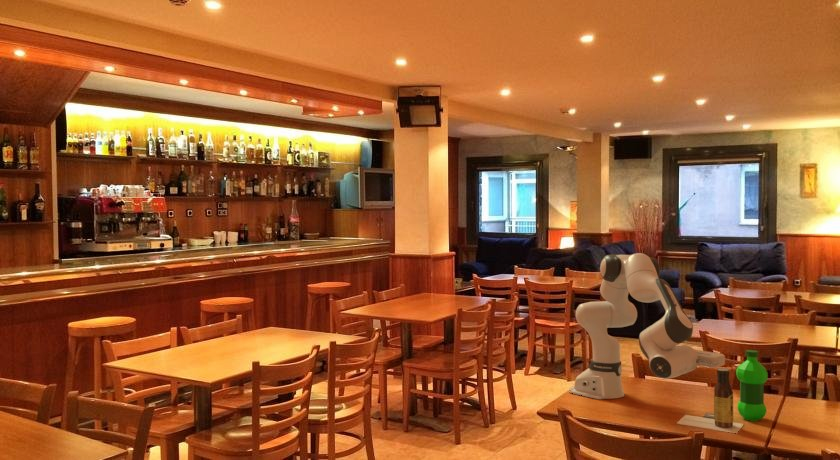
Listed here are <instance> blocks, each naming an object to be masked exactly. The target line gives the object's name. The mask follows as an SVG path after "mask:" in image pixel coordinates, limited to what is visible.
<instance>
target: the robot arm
mask: <svg viewBox="0 0 840 460" xmlns="http://www.w3.org/2000/svg"><path fill="white" fill-rule="evenodd" d="M599 272H600V276H601V277H602V279H601V280H602V281H601V285H600V287H599V291H600V295H601V297H602V298H603V299H604V300H603V301H602V300H601V301H600V300H599V301H589V302H584V303H580V304H578V306H577V307H576V309H575V310H576V311H575V320H576V321H577V323H578V325H579V326H580V327H581V328H583V329H584V330H585V331H586V332H587V334H588V336H589V337H590V340H591V347H592V358H591V359H590V360H588V362H586V365H587V366H588V368H587V369H585V370H584V371H582V372H581V373H580V374H578V375H577V376H576V378H575V380H574V384H573V386H571V387H570V388H569V390H571V391H569V390H568V392H570V393H569V394H572V393H573V395H578V396H581V395H582V396H583V397H587V398H591V399H595V400H605V399H606V400H607V399H619V398H623V397H624V396H625V392H624V388H623V384H622V361H621V343H620V342H619V340H618V339H617V338H616V337H614V336H612V335H610V334H608V328H609V329H610V328H624V327H629V326H633V325H634V324H635V323H636V321H637V320H638V319H637V318H638V310H637V307H636V306H635V304H634V303H632V302H631V301H630V300H629V295H630V296H631V297H632V298H633V299H635V300H636V301H637V302H641V303H648V304H649V303H654V302H657V301H660V302H661V305H662V306H663V308H664V310H665V312H664V315H663V316H662V317H661V318H660V319H659V320H657V321H655V322H654V323H653V324H652V325H649V326H648V327H646V328H645V329H643V330H642V331H641V332H640V333H639V334H638V335H639V336H638V345H639V348H640V350H641V352H642V354H643V355H644V357H645V358H646V359H647V360H648V362H649V364H648V365H649V368H650V371H651V373H652V374H653V375H655V376H656V377H658V378H660V379H673V378H676V377H679V376H681V375H684V374H687V373H690V372H693V371H695V370H696V369H697V368H698V366H700V367H705V368H712V369H713V368H719V367H720V368H721V367H722V366H725V364H726V356H725V354H724V353H719V352H717V351H713V352H712V351H706V350H701V349H694V348H693V347H692V346H690V345H687V344H682V345H680V344H681V343H685V342H686V341H688V340H690V339H691V338H692V335H693V331H694V326H693V323H692V321H691V320H690V318H689V317H688V316H687V314H686V312H685V311H684V309H683V307H682V305H681V303H680V301H679V299H678V298H677V296H676V294H675V292H674V291H673V289H672V287H671V286H670V284H669V283H668V282H667V281H666V280H665V279H662V278H660V274H661V266H660V263H659V261H658V260H657V258H654V257H651V256H648V255H647V254H645V253H642V252H636V253H633V254H614V253H613V254H612V253H611V254H607V255H605V256H604V257H603V258H602V259H601V262H600V267H599Z"/></svg>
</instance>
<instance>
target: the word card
mask: <svg viewBox="0 0 840 460" xmlns="http://www.w3.org/2000/svg"><path fill="white" fill-rule="evenodd" d="M703 418H709V419H714V413H711V412H706V413H705V414H704V415H703Z"/></svg>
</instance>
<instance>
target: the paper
mask: <svg viewBox="0 0 840 460" xmlns="http://www.w3.org/2000/svg"><path fill="white" fill-rule="evenodd" d="M676 425H680V426H687V427H693V428H699V429H703V430H704V429H706V430H710V431H711V430H712V431H717V432H723V433H728V432H729V433H728V434H734V433H736V434H735V435H737V434H738V433H739V432H740V430H742V428H743V427H744V425H745V424H744V423H740V422H734V421H733V426H732V427H728V428H727V427H719V426H716V425H715V420H714V419H712V418H706V417H704V416H703V417H702V416H698V415H697V416H696V415H690V414H684V416H683V417H682V418H680V419H679V421H677V422H676ZM738 431H739V432H738Z"/></svg>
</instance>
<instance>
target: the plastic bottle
mask: <svg viewBox="0 0 840 460" xmlns="http://www.w3.org/2000/svg"><path fill="white" fill-rule="evenodd" d="M745 356H746V360H745V361H743V362H742V363H740V364H739V365H738V366H737V367H736V373H735V374H736V377H737V380H739V401H738V402H737V406H736V408H737V411H738V414H739V415H740V417H742V419H743V418H744V420H746V421H749V420H750V421H751V422H758V420H759V421H760V420H761V419H763V418H764V417H765V416H766V415H767V407H766V405H765V402H764V399H765V398H764V395H765V394H764V392H765V390H764V389H765V385H764V384H765V383H767V381H768V376H769V375H768V374H769V373H768V371H767V368H765V366H764V365H762V364H761V363H760V362H759V360H758V358H759V351H758V350H754V349H746V350H745Z"/></svg>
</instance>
